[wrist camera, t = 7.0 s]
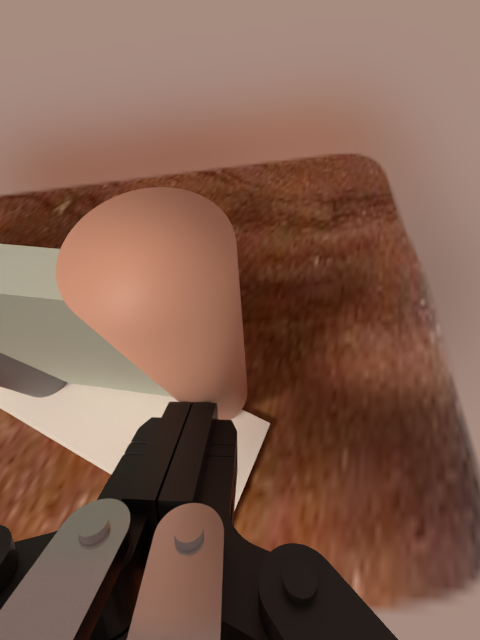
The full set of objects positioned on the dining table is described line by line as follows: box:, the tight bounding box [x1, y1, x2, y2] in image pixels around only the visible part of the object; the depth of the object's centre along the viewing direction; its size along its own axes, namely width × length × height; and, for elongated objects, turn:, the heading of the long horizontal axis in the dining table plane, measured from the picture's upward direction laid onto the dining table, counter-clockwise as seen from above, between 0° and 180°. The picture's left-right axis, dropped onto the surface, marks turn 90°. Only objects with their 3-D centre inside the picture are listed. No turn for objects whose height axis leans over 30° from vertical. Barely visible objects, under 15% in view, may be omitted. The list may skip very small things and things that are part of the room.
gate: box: [0, 187, 248, 420], centre depth 10 cm, size 9×3×10 cm, turn 82°
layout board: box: [0, 383, 270, 511], centre depth 17 cm, size 24×14×1 cm, turn 64°
